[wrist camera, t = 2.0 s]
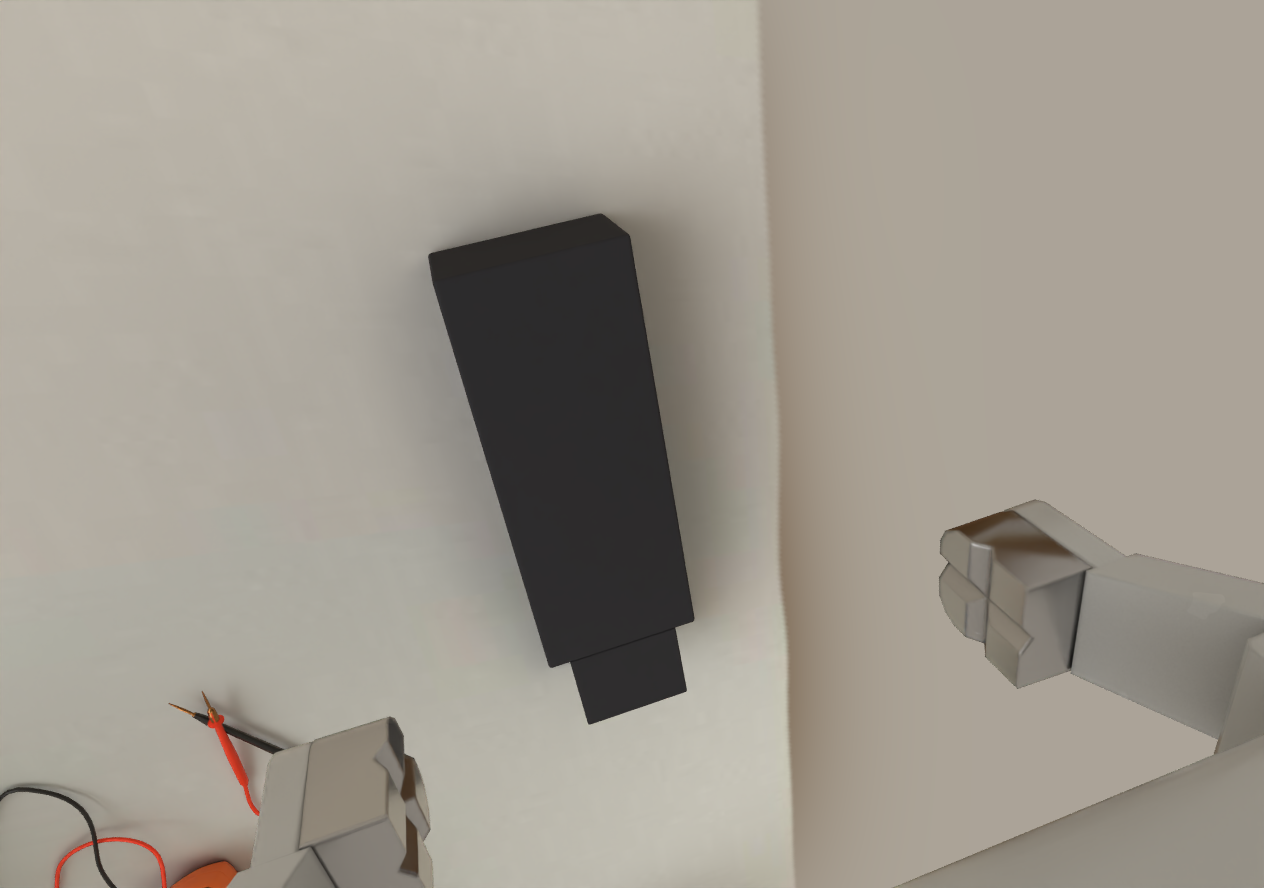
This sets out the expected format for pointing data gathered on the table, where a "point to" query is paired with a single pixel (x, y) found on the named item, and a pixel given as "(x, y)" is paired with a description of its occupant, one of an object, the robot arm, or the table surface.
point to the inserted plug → (575, 449)
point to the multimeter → (201, 884)
